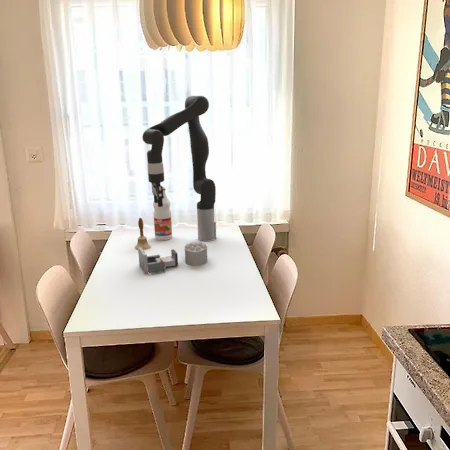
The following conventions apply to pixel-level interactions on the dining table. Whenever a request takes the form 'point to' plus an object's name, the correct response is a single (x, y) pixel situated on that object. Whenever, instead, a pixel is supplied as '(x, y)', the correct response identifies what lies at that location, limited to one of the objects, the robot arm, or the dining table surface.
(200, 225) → the robot arm
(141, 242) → the hand bell
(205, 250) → the paw print stamp
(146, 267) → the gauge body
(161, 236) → the fruit juice
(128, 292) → the dining table surface
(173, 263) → the grey boxy piece
